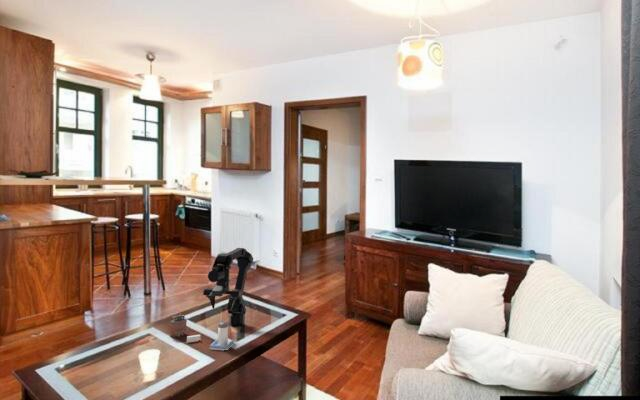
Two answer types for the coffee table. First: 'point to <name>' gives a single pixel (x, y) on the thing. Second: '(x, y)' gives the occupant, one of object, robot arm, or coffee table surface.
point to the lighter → (178, 325)
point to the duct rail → (193, 338)
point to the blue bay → (218, 347)
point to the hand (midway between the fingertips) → (222, 309)
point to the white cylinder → (223, 333)
